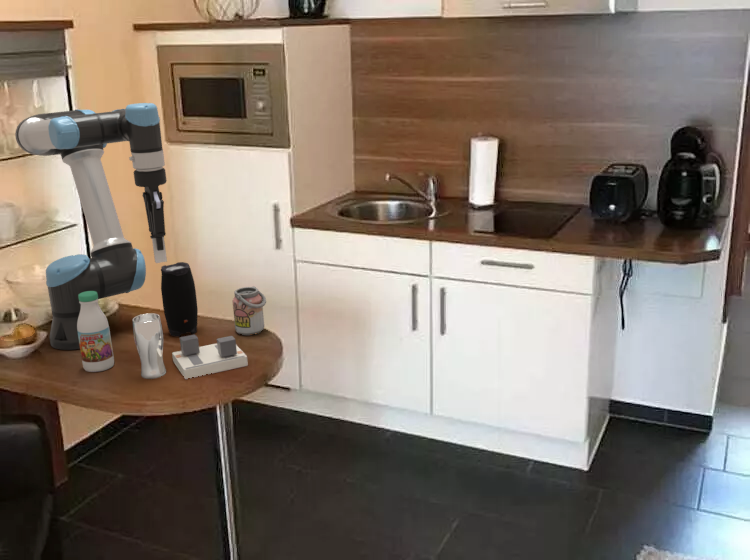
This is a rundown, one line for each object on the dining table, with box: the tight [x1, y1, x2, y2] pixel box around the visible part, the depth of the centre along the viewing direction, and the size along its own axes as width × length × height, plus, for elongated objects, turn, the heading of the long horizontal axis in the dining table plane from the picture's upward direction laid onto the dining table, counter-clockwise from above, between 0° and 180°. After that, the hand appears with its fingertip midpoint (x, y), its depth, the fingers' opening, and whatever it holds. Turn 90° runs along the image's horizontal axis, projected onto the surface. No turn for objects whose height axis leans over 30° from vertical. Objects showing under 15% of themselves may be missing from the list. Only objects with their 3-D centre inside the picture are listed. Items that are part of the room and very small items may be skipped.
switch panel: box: [171, 342, 249, 380], centre depth 212 cm, size 13×16×3 cm
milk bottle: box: [77, 291, 115, 373], centre depth 211 cm, size 8×8×20 cm
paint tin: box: [232, 285, 267, 336], centre depth 232 cm, size 9×8×12 cm
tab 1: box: [179, 334, 200, 356], centre depth 212 cm, size 3×4×4 cm
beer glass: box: [132, 312, 167, 380], centre depth 206 cm, size 7×7×15 cm
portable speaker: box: [160, 261, 198, 338], centre depth 232 cm, size 9×9×20 cm
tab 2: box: [216, 335, 237, 357], centre depth 210 cm, size 3×4×4 cm
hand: (160, 261), depth 209 cm, fingers closed
